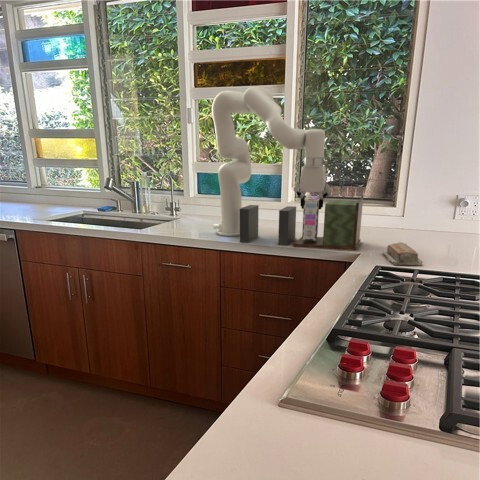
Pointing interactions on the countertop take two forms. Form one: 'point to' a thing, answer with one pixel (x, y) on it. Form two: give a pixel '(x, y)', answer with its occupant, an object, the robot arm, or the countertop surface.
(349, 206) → the green zigzag bookend
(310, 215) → the candy box
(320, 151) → the robot arm
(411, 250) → the butter dish
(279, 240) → the grey rectangular blocks
